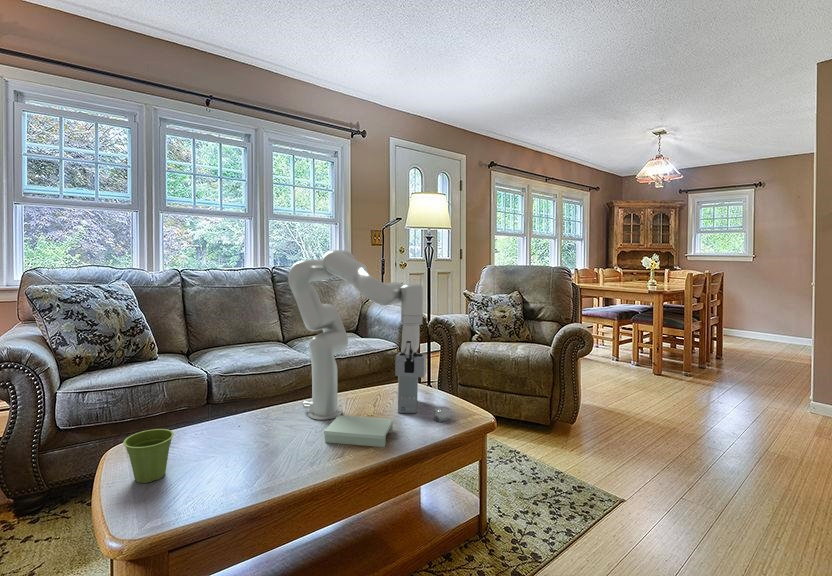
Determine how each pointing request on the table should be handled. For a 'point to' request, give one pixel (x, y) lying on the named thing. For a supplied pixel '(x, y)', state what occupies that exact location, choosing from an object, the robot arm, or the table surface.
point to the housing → (419, 365)
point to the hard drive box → (407, 394)
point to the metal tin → (442, 414)
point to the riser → (359, 430)
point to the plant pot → (149, 453)
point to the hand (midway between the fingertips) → (410, 369)
